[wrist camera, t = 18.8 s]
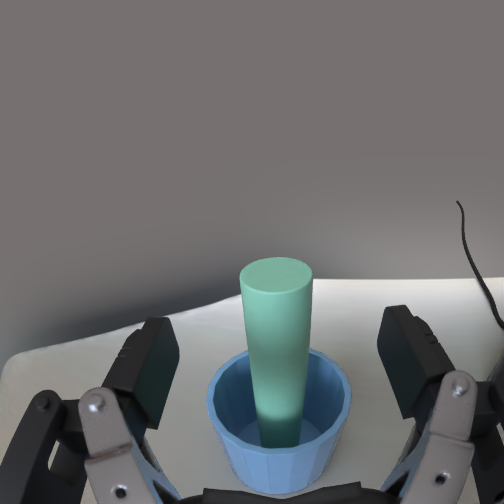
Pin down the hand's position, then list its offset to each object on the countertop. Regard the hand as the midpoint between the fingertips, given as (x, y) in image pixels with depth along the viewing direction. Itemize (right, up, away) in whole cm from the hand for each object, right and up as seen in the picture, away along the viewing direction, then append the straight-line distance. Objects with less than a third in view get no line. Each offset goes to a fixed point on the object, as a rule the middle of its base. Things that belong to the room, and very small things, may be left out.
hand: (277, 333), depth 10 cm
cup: (+1, -13, +8) cm, 15 cm away
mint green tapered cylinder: (+1, -12, +7) cm, 14 cm away
